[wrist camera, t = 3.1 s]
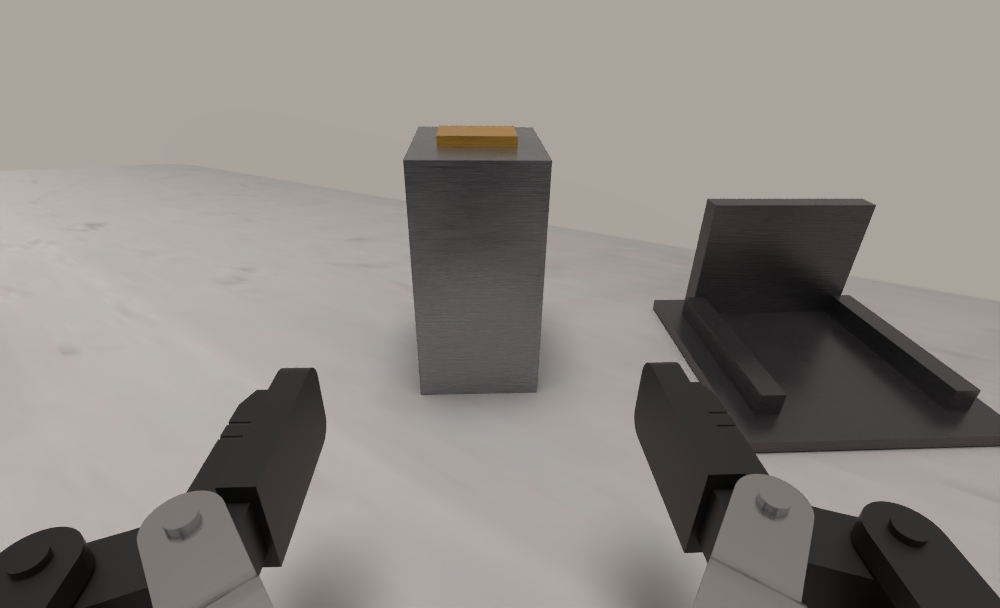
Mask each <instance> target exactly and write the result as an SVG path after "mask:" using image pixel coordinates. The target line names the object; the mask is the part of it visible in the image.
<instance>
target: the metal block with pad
mask: <svg viewBox="0 0 1000 608" xmlns="http://www.w3.org/2000/svg"><path fill="white" fill-rule="evenodd" d="M403 164H404V175H405V189H406V203H407V216H408V229H409V242H410V255H411V268H412V282H413V295H414V308H415V321H416V334H417V347H418V360H419V373H420V387H421V395H437V394H483V393H530V392H537V379H538V364H539V349H540V334H541V319H542V303H543V288H544V273H545V258H546V243H547V228H548V212H549V198H550V181H551V167H552V160H551V158H550V157H549V155H548V153H547V151H546V150H545V148H544V146H543V144H542V143H541V141H540V139H539V138H538V136H537V134H536V133H535V131H534V129H533V128H524V127H519V128H516V127H514V126H439V127H418V130H417V132H416V134H415V136H414V138H413V140H412V142H411V145H410V147H409V149H408V151H407V153H406V155H405V157H404V160H403Z"/></svg>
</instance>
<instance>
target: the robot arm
mask: <svg viewBox="0 0 1000 608" xmlns="http://www.w3.org/2000/svg"><path fill="white" fill-rule="evenodd" d="M634 419H635V429H636V433H637V436H638V439H639V441H640V444H641V446H642V449H643V451H644V454H645V456H646V459H647V461H648V464H649V466H650V469H651V471H652V474H653V476H654V479H655V481H656V484H657V486H658V489H659V491H660V494H661V496H662V499H663V501H664V504H665V506H666V509H667V511H668V513H669V516H670V518H671V521H672V523H673V526H674V528H675V531H676V533H677V536H678V538H679V541H680V543H681V546H682V548H683V551H684V553H697V552H703V554H704V556H705V558H706V561H707V563H708V564H707V567H706V570H705V573H704V576H703V579H702V582H701V585H700V588H699V590H698V593H697V596H696V599H695V602H694V605H693V608H1000V598H999V597H998V596H997V594H996V593H995V592H994V591H993V590H992V588H991V587H990V586H989V585H988V584H987V583H986V581H985V580H984V579H983V578H982V577H981V576H980V574H979V573H978V572H977V571H976V570H975V569H974V567H973V566H972V565H971V564H970V563H969V562H968V560H967V559H966V558H965V557H964V556H963V555H962V553H961V552H960V551H959V550H958V549H957V548H956V546H955V545H954V544H953V543H952V542H951V541H950V539H949V538H948V537H947V536H946V535H945V534H944V532H943V531H942V530H941V529H940V528H939V527H937V526H936V525H935V524H934V523H933V522H931V521H930V520H929V519H927V518H926V517H924V516H923V515H921V514H919V513H918V512H916V511H914V510H912V509H910V508H907V507H905V506H902V505H899V504H896V503H891V502H883V501H879V502H872V503H870V504H868V505H866V506H865V507H864V508H863V510H862V512H861V514H860V516H859V517H854V516H850V515H846V514H841V513H837V512H833V511H828V510H824V509H820V508H816V507H813V506H811V504H810V503H809V501H808V500H807V499H806V498H805V496H804V495H803V494H802V493H801V492H800V491H798V490H797V489H796V488H795V487H793V486H792V485H790V484H789V483H787V482H785V481H783V480H781V479H779V478H776V477H773V476H769V474H768V473H767V471H766V470H765V468H764V467H763V465H762V464H761V462H760V461H759V459H758V457H757V456H756V454H755V453H754V451H753V450H752V448H751V447H750V445H749V444H748V442H747V441H746V439H745V438H744V436H743V435H742V433H741V432H740V430H739V429H738V428H736V424H735V422H734V421H733V419H732V418H731V416H730V415H728V414H727V410H726V409H725V407H724V406H723V404H722V403H721V401H720V400H719V398H718V397H717V395H715V394H714V393H713V392H712V391H710V390H709V389H708V388H706V387H705V386H704V385H703V384H701V383H700V382H690V381H689V379H688V378H687V376H686V374H685V373H684V371H683V369H682V368H681V366H680V365H679V364H678V363H677V362H662V363H646V364H645V365H644V367H643V370H642V375H641V381H640V386H639V391H638V396H637V402H636V407H635V415H634ZM325 435H326V416H325V410H324V405H323V400H322V395H321V390H320V385H319V380H318V376H317V372H316V370H315V369H314V368H281V369H280V370H279V371H278V372H277V374H276V376H275V378H274V380H273V382H272V383H271V385H270V387H269V389H268V390H256V391H255V392H254V393H253V394H251V395H250V396H249V397H248V398H247V399H245V400H244V401H243V402H242V403H241V404H239V406H238V407H237V409H236V411H235V412H234V414H233V416H232V417H231V419H230V421H229V425H227V426H226V427H225V429H224V431H223V432H222V434H221V436H220V437H221V438H220V440H218V441H217V442H216V444H215V446H214V447H213V449H212V451H211V452H210V454H209V456H208V457H207V459H206V461H205V462H204V464H203V466H202V468H201V469H200V471H199V473H198V474H197V476H196V478H195V479H194V481H193V483H192V484H191V486H190V488H189V489H188V491H187V493H184V494H181V495H178V496H176V497H174V498H172V499H170V500H168V501H166V502H165V503H163V504H161V505H160V506H159V507H157V508H156V509H155V510H154V511H153V512H152V513H151V514H150V515H149V516H148V517H147V518H146V519H145V520H144V522H143V523H142V525H141V527H140V528H137V529H134V530H131V531H127V532H124V533H120V534H117V535H113V536H109V537H106V538H102V539H99V540H95V541H92V542H88V543H86V541H85V540H84V538H83V536H82V535H81V533H80V532H79V531H77V530H76V529H73V528H69V527H55V528H49V529H45V530H42V531H39V532H36V533H33V534H31V535H29V536H27V537H24V538H23V539H21V540H19V541H17V542H15V543H14V544H12V545H11V546H9V547H8V548H6V549H5V550H4V551H2V552H1V553H0V608H274V607H273V605H272V603H271V601H270V599H269V596H268V594H267V592H266V590H265V587H264V585H263V583H262V581H261V579H260V577H259V574H260V572H261V569H262V567H281V566H282V563H283V560H284V557H285V554H286V552H287V549H288V546H289V543H290V540H291V537H292V534H293V531H294V528H295V525H296V522H297V520H298V517H299V514H300V511H301V508H302V505H303V502H304V499H305V496H306V493H307V490H308V488H309V485H310V482H311V479H312V476H313V473H314V470H315V467H316V464H317V461H318V458H319V456H320V453H321V450H322V447H323V444H324V440H325Z"/></svg>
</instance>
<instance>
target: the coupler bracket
mask: <svg viewBox="0 0 1000 608" xmlns="http://www.w3.org/2000/svg"><path fill="white" fill-rule="evenodd" d="M875 207H876V205H875V204H872V203H870V202H868V201H866V200H864V199H707V204H706V208H705V213H704V217H703V222H702V227H701V231H700V235H699V240H698V244H697V249H696V253H695V258H694V262H693V267H692V271H691V276H690V280H689V284H688V289H687V293H686V297H685V300H655V301H654V306H653V309H654V310H655V312H656V313H657V315H658V316H659V318H660V320H661V321H662V323H663V324H664V326H665V327H666V329H667V331H668V332H669V334H670V335H671V337H672V338H673V340H674V341H675V343H676V345H677V346H678V348H679V349H680V351H681V352H682V354H683V356H684V357H685V359H686V360H687V362H688V363H689V365H690V367H691V368H692V370H693V371H694V373H695V374H696V376H697V378H698V379H699V381H700V382H701V384H703V385H704V386H705V387H706V388H708V389H709V390H710V391H712V392H713V393H714V394H715V395H717V397H718V398H719V400H720V401H721V403H722V404H723V406H724V407H725V409H726V410H727V414H728V415H730V416H731V418H732V419H733V421H734V422H735V424H736V428H738V429H739V430H740V432H741V433H742V435H743V436H744V438H745V439H746V441H747V442H748V444H749V445H750V447H751V448H752V450H753V451H754V453H759V452H794V451H829V450H863V449H898V448H932V447H967V446H1000V415H999V414H998V413H997V412H995V411H994V410H993V409H991V408H990V407H989V406H987V405H986V404H985V403H983V402H982V401H981V400H979V399H978V398H977V396H978V394H979V393H980V391H981V390H979V389H978V388H977V387H975V386H974V385H973V384H971V383H970V382H968V381H967V380H966V379H964V378H963V377H962V376H960V375H959V374H957V373H956V372H955V371H953V370H952V369H951V368H949V367H948V366H946V365H945V364H944V363H942V362H941V361H939V360H938V359H937V358H935V357H934V356H933V355H931V354H930V353H928V352H927V351H926V350H924V349H923V348H922V347H920V346H919V345H917V344H916V343H915V342H913V341H912V340H911V339H909V338H908V337H906V336H905V335H904V334H902V333H901V332H900V331H898V330H897V329H895V328H894V327H893V326H891V325H890V324H888V323H887V322H886V321H884V320H883V319H882V318H880V317H879V316H877V315H876V314H875V313H873V312H872V311H871V310H869V309H868V308H866V307H865V306H864V305H862V304H861V303H860V302H858V301H857V300H855V299H854V298H853V297H851V296H850V295H841V293H842V291H843V288H844V286H845V283H846V281H847V278H848V275H849V273H850V270H851V268H852V265H853V263H854V260H855V257H856V255H857V252H858V250H859V247H860V245H861V242H862V240H863V237H864V234H865V232H866V229H867V227H868V225H869V222H870V219H871V217H872V214H873V212H874V209H875Z"/></svg>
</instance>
